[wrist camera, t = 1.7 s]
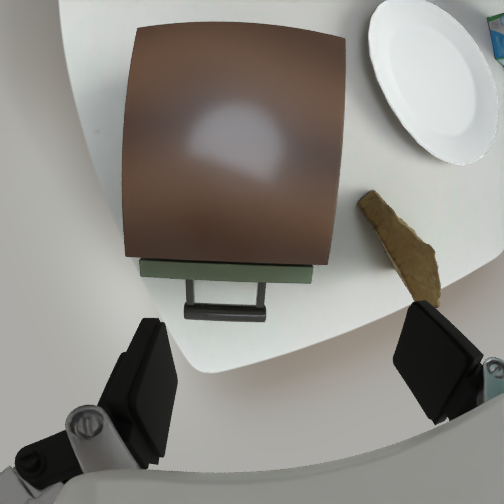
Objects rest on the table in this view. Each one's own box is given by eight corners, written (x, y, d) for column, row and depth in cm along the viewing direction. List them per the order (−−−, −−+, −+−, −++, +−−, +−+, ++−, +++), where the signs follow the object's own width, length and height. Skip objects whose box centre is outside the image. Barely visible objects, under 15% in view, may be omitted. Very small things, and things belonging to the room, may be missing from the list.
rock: (335, 201, 23) (354, 305, 25) (428, 190, 16) (437, 315, 18) (383, 183, 29) (396, 263, 31) (449, 175, 22) (459, 264, 24)
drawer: (283, 293, 27) (300, 342, 20) (168, 289, 26) (148, 336, 19) (302, 100, 21) (331, 77, 14) (170, 93, 20) (143, 68, 13)
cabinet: (296, 227, 26) (327, 265, 17) (161, 221, 25) (125, 257, 16) (307, 76, 21) (345, 38, 12) (169, 68, 20) (137, 27, 11)
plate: (461, 20, 17) (471, 16, 15) (496, 159, 24) (507, 161, 22) (334, -8, 17) (340, -17, 15) (384, 172, 24) (396, 174, 22)
